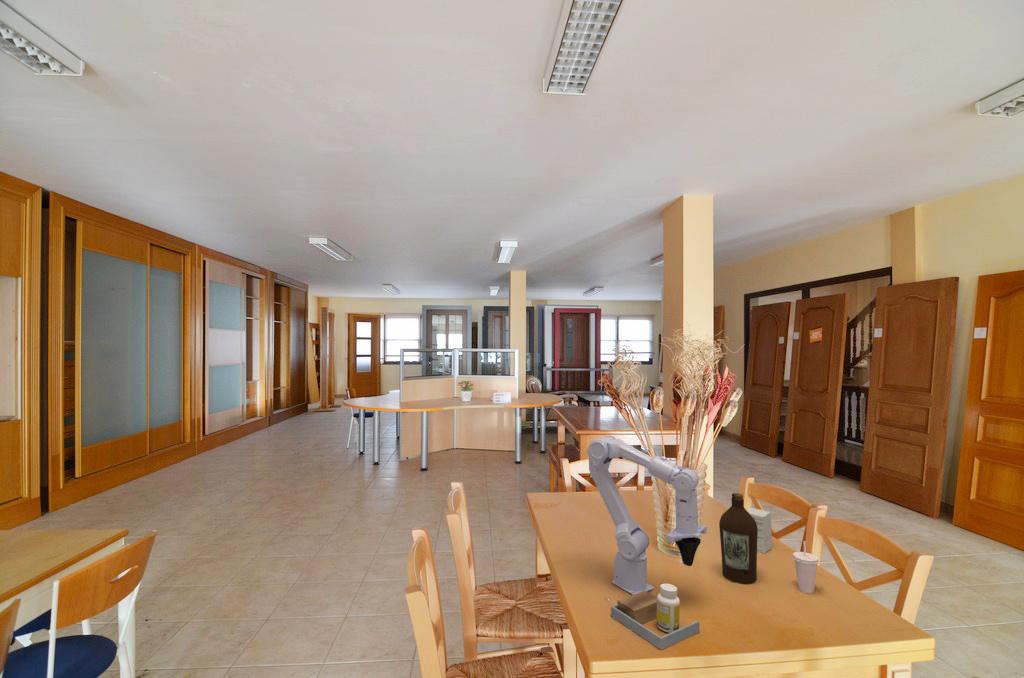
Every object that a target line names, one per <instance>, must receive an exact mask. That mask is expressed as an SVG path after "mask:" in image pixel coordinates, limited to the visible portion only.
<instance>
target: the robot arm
mask: <svg viewBox="0 0 1024 678" xmlns="http://www.w3.org/2000/svg"><path fill="white" fill-rule="evenodd" d="M586 454H587V456H588V470H589V473H590V475H591V477H592V480H593V482H594V484H595V486H596V488H597V491H598V492H599V494H600V497H601V498H602V501H603V503H604V505H605V507H606V509H607V511H608V513H609V515H610V517H611V519H612V521H613V523H614V525H615V538H616V539H615V540H616V542H617V549H618V552H616V554H615V556H614V558H613V580H612V581H611V584H613V585H615V586H617V587H619V588H620V589H622V590H623V591H625V592H627V593H629V594H630V595H633V594H636V593H639V592H642V591H644V590H645V591H647V592H649V591H652V590H654V589H655V587H654V586H652V585H651V584H649V583H648V555H647V551H646V550H647V549H648V548H649V546H650V538H649V535H648V534H647V532H646V531H644V529H643V528H642V527H641V526H640V523H639V522H638V521H635V520H634V519H633V517H632V516H631V514H630V512H629V508H628V507H627V505H626V503H625V501H624V499H623V498H622V495H621V493H620V491H619V489H618V487H617V485H616V483H615V481H614V479H613V477H612V475H611V472H610V471H609V468H610V466H611V463H612V460H613V459H615V458H624V459H626V460H628V461H631V462H633V463H635V464H637V465H639V466H642V467H644V468H646V469H647V472H648V473H649V474H650V475H651V476H653V477H654V478H657V479H659V480H661V481H663V483H667V485H671V486H672V488H673V489H674V491H675V492H674V493H675V497H674V499H675V500H674V501H675V504H674V505H675V528H674V529H673V530H671V531H670V532H669V533H666V534H665V539H666V540H665V542H666V543H668V544H671V545H673V544H676V546H677V548H678V550H679V552H680V555H681V559H682V564H683V565H685V566H687V567H690V566H693V564H694V560H695V555H696V553H697V551H698V548H699V546H700V545H701V540H702V539H700V538H701V537H702V534H703V535H705V534H708V526H707V525H704V524H699V520H698V519H699V518H698V517H699V516H698V511H699V510H698V509H699V508H698V497H697V496H698V495H697V493H698V492H697V490H698V489H697V486H698V485H699V483H700V477H699V475H698V473H697V471H695V470H694V469H692V468H691V467H683V465H681V464H678V465H677V464H676V463H674V462H671V461H670V460H667V457H666V456H664V455H661V456H659V455H656V456H654V457H652V456H650V455H648V454H646V453H644V452H643V451H641V450H639V449H637V448H635V447H633V446H632V445H630V444H628V443H627V442H624V440H622V439H621V438H616V437H614V436H613V435H605V436H604V437H601V438H596V439H593V440H591V442H589V445H588V447H587V449H586Z"/></svg>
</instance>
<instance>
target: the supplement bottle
mask: <svg viewBox="0 0 1024 678" xmlns="http://www.w3.org/2000/svg"><path fill="white" fill-rule="evenodd" d="M659 589H660V590H659V591H660V592H659V593H658V594H657V595H656V597H657V618H656V626H657V628H658V629H659V630H661V631H663V632H666V633H668V634H669V633H671V632H673V631H676V630H678V629H680V612H681V610H680V609H681V607H680V606H681V602H680V597H678V588H677V587H676V585H673V584H671V583H662V584H660V588H659Z"/></svg>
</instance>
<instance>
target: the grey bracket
mask: <svg viewBox="0 0 1024 678" xmlns="http://www.w3.org/2000/svg"><path fill="white" fill-rule="evenodd" d="M610 613H611V614H610V616H611V617H612V618H613V619H615V620H616V621H618V623H621V624H622V625H624V627H626V628H628V629H629V630H630V631H632V632H634V633H636V634H637V635H638V636H639V637H642V638H643V639H645V640H646V641H647V642H648V643H650V644H651V645H653V646H655V647H657V649H659V650H661V651H662V650H664V649H666V648H668V647H671V646H672V645H675V644H678V643H679V642H682V641H684V640H686V639H688V638H690V637H692V636H694V635H696V634H699V633H700V621H699V620H696V621H693V622H691V623H690V624H687V625H684V626H683V627H679V629H678V630H676V631H673V632H671V633H669V632H668V633H667V634H665V635H663V636H660V635H659V634H657V633H656V632H654V631H652V630H650V629H649V628H647V627H646V626H644V625H643V624H640V623H638V622H637V621H635V620H634V619H632V618H631V617H629V616H627V615H626V614H624V613H623V612H621V611H620V610H618V609H617V604H613V605H611V606H610Z"/></svg>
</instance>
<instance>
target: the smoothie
mask: <svg viewBox="0 0 1024 678" xmlns="http://www.w3.org/2000/svg"><path fill="white" fill-rule="evenodd" d="M802 542H803V551H795V552H793V553H792V559H793V560H794V566H795V567H794V568H795V571H796V577H797V578H796V579H797V585H798V590H799V591H800V592H802V593H804V594H805V593H806V594H814V592H815V587H816V578H817V569H818V564H819V562H820V561H819V557H818V556H817V555H814V554H813V553H809V552H807V547H806V546H807V543H806V542H807V541H805V540H803V541H802Z"/></svg>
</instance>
